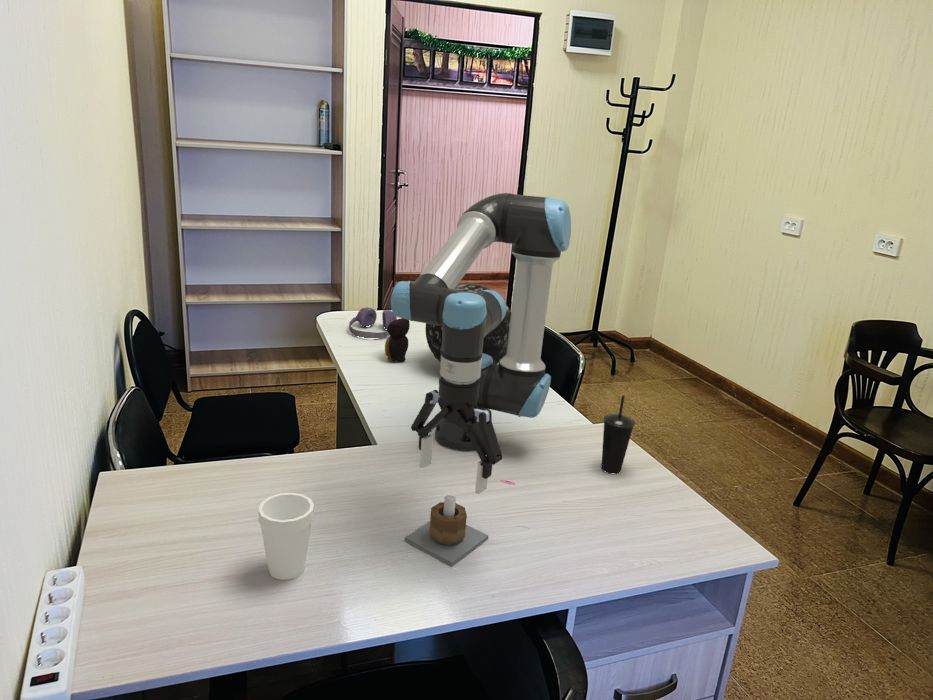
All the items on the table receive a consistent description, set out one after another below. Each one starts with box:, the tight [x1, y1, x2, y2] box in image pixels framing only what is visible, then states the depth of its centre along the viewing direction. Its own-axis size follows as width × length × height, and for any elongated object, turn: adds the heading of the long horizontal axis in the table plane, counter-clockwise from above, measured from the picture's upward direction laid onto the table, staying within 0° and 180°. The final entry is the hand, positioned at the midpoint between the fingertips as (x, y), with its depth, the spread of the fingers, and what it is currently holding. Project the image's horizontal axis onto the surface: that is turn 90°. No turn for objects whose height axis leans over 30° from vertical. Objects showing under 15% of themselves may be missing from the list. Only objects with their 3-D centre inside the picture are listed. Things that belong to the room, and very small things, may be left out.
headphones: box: [348, 306, 398, 339], centre depth 259 cm, size 18×8×20 cm
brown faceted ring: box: [429, 501, 467, 543], centre depth 132 cm, size 7×7×5 cm
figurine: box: [384, 318, 411, 363], centre depth 229 cm, size 10×7×15 cm
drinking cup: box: [601, 395, 636, 475], centre depth 164 cm, size 8×8×20 cm
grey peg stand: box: [404, 494, 489, 567], centre depth 132 cm, size 12×12×10 cm
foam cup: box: [257, 492, 315, 581], centre depth 119 cm, size 10×9×13 cm
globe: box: [425, 283, 511, 365], centre depth 222 cm, size 30×30×30 cm
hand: (452, 478), depth 130 cm, fingers open, 13 cm apart
